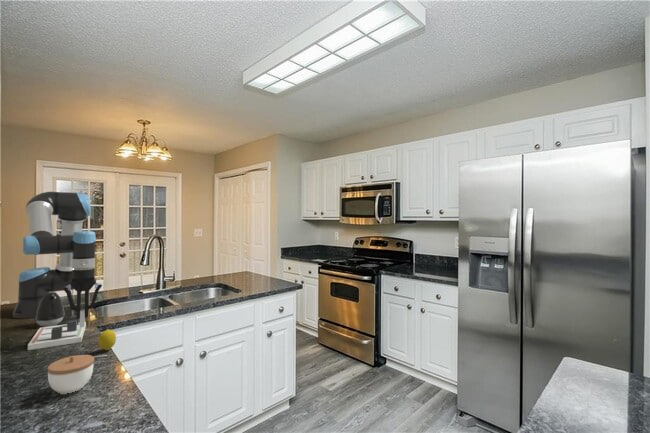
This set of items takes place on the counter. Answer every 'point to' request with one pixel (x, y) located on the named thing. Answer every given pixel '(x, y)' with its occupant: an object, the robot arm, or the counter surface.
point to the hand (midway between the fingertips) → (82, 326)
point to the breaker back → (74, 318)
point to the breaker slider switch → (56, 333)
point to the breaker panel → (68, 337)
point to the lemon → (107, 339)
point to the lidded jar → (70, 373)
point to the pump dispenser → (50, 310)
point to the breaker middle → (72, 325)
